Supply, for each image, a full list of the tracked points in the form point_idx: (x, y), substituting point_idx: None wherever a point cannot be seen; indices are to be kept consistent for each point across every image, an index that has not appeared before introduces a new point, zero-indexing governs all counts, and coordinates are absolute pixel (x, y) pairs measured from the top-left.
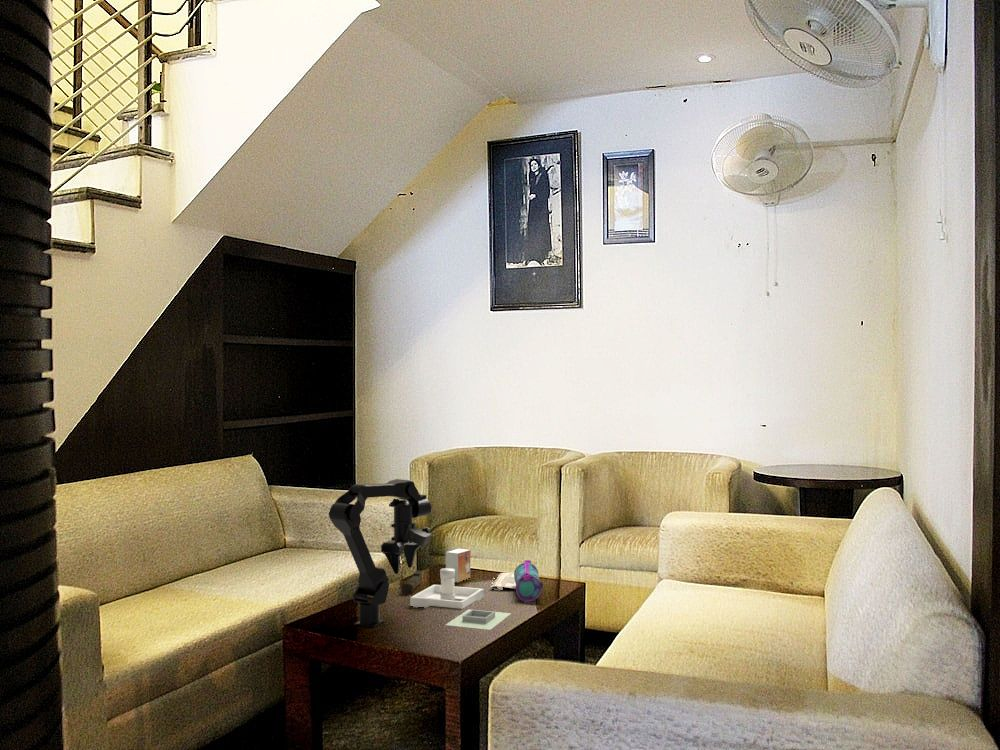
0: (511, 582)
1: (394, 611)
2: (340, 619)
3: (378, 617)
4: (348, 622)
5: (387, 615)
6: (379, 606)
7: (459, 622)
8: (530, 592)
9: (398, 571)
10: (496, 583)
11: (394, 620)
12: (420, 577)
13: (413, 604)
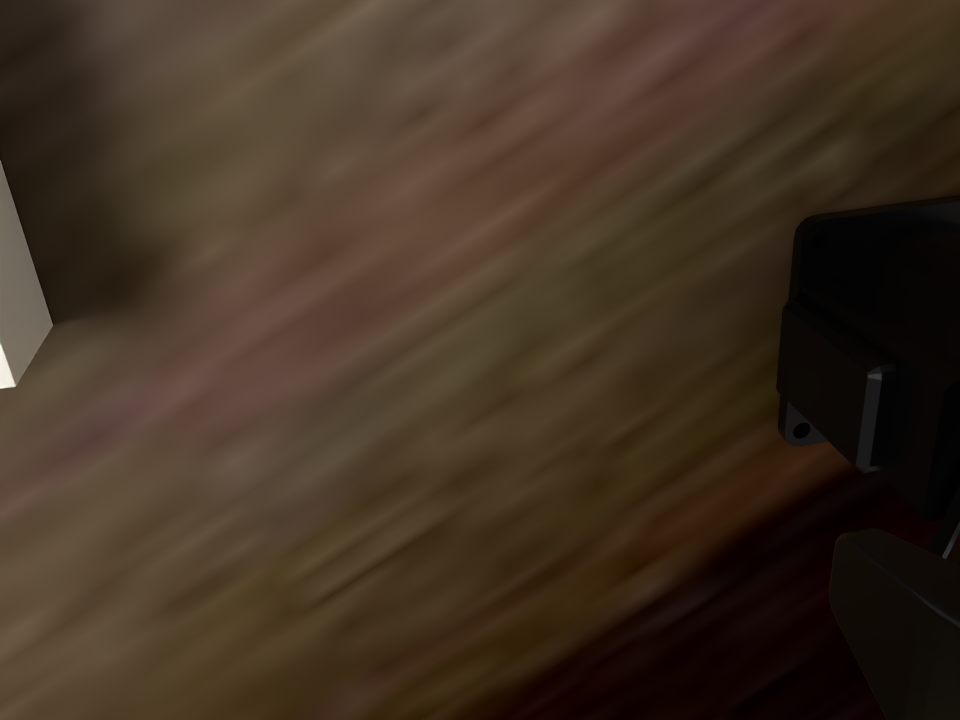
0: None
1: (356, 370)
2: (822, 617)
3: (956, 239)
4: (895, 508)
5: (545, 339)
6: (899, 345)
7: None
8: None
9: (894, 556)
10: None
11: (708, 141)
12: None
13: (27, 293)
